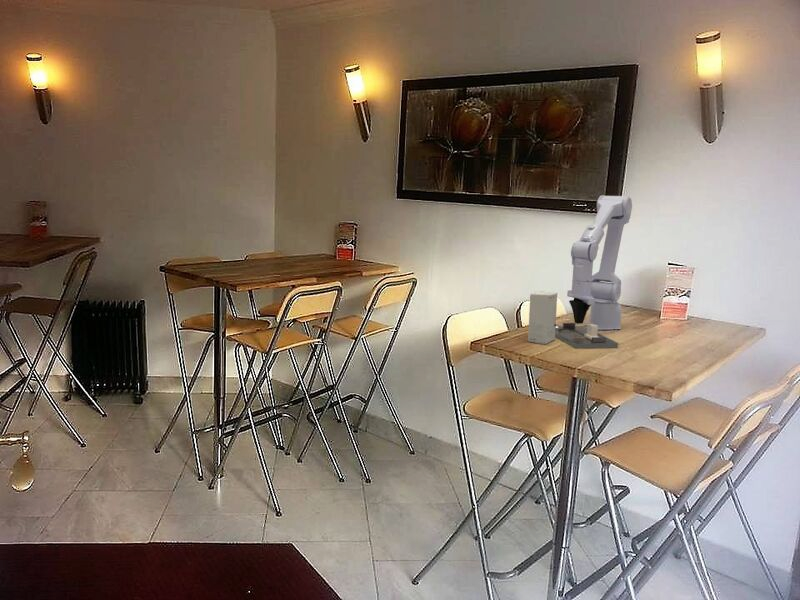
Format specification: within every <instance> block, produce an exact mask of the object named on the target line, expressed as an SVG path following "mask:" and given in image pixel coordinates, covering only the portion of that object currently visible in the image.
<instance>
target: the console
mask: <svg viewBox="0 0 800 600" xmlns="http://www.w3.org/2000/svg"><path fill="white" fill-rule="evenodd" d="M576 324H577V323H575V322H562V325H558V324H556V329H555V339H556V338H557V339H558V340H560V341H562V342H563V341H564V342H563V343H565V342H566V343H565V344H567V345H569V346H570V345H571V347H572V346H573V347H572V348H574V349H576V348H577V349H578V348H587V349H618V348H619V342H618V341H615V340H613V339H611V338H609V337H606V336H605V335H603V334H600V333H598V332H597V336H598V337H592V340H590V339H588V338H586V337H584V334H587V326H583V325H582V326H580V325H578V326H576Z"/></svg>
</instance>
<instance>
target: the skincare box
mask: <svg viewBox="0 0 800 600" xmlns="http://www.w3.org/2000/svg"><path fill="white" fill-rule="evenodd" d="M557 302H558V292H555V291H554V292H553V291H535V292H533V293H530V295H529V312H528V330H527V331H528V334H527V336H528V337H527V342H530V343H535V344H541V345H547V344H549V343H551V342H552V341H555V339H556V337H555V329H556V325H557V309H558V308H557V306H558V305H557V304H558V303H557Z"/></svg>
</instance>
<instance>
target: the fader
mask: <svg viewBox="0 0 800 600" xmlns="http://www.w3.org/2000/svg"><path fill="white" fill-rule="evenodd" d="M587 324H588V323H587ZM586 328H587V334H584V337H586V338H588V339H590V340H592V337H598V336H597V333H598V331H599V330H598V326H597V325H595V324H588V325H587V326H586Z"/></svg>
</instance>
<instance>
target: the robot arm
mask: <svg viewBox="0 0 800 600" xmlns="http://www.w3.org/2000/svg"><path fill="white" fill-rule="evenodd" d="M632 202H633V201H632V198H631V197H630V196H629V195H624V196H623V195H604V194H602V195H600V196H599V197H598V199H597V201H596V211H597V213H596V215H595V218H594V220H593V221H592V222H593V223H591V224H589V225H588V226H586V228H585V230H584V232H583V233H582V234H581V237H580V238H579V240H578V241H576V242H573V244H572V246H571V250H570V257H571V265H572V268H573V269H572V279H571V282H572V283H571V289H570V290H568V289H567V294H566V295H567V296H566V297H567V298H568V297H569V298H573V299H570V300H568V303H569V304H570V307H571V309H572V314H573V319H574V323H576V324H577V325H578V324H579V325H580V324H583V323H584V320H585V318H586V315H587V312H588V310H589V309H590V314H589V316H590V317H589V323H588V322H587V323H584V326H585V327H587V325H588V324H595V325H597V326H598V331H600V330H601V331H605V330H606V331H607V330H608V331H610V330H611V331H612V330H613V331H615V330H616V331H617V329H619V330H622V327H621V323H622V313H623V312H622V305H621V303H620V302H618V301H619V299H620V298H621V295H622V281H621V279H620V277H618V276H617V274H616V273H615V272H616V266H617V260H618V255H619V251H620V247H621V242H622V235H623V231H624V227H625V225H627V224H628V223H630V219H631V215H632V211H633V203H632ZM606 226H607V229H606V235H605V231H604V229H605V227H606ZM604 236H605V238H604V239H605V240H604V245H603V250H602V255H601V259H600V265H599V270H598V271H597V272H596V273H593V268H594V261H595V260H596V259H597V255H598V251H599V244H600V243H601V241H602V239H603V237H604ZM614 329H615V330H614Z"/></svg>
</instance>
